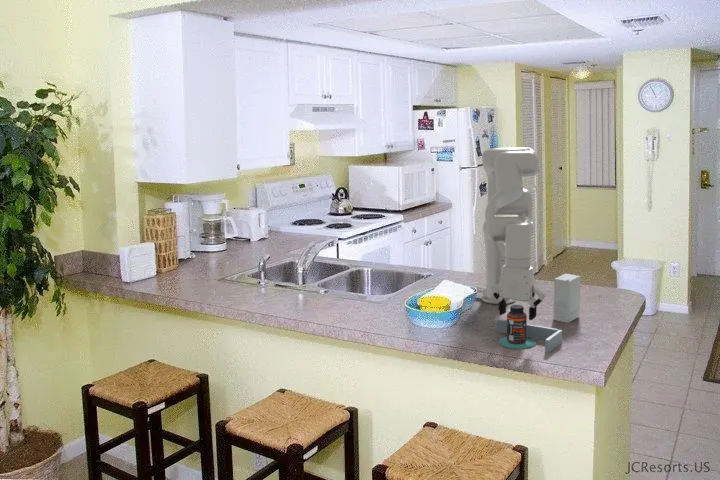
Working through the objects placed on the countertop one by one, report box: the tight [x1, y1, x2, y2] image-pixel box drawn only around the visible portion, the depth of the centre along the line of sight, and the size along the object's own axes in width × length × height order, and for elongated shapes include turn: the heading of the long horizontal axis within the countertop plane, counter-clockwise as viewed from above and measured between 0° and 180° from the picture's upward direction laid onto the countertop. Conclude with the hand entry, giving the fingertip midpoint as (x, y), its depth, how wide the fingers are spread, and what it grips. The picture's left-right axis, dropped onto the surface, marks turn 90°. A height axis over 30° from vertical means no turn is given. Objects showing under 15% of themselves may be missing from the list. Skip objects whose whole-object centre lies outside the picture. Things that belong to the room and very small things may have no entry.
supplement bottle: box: [506, 304, 528, 344], centre depth 212 cm, size 6×6×11 cm
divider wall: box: [496, 319, 563, 354], centre depth 213 cm, size 22×12×4 cm, turn 53°
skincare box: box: [552, 273, 581, 324], centre depth 233 cm, size 8×6×15 cm
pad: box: [498, 336, 537, 350], centre depth 212 cm, size 11×11×1 cm
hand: (517, 316), depth 211 cm, fingers open, 9 cm apart
